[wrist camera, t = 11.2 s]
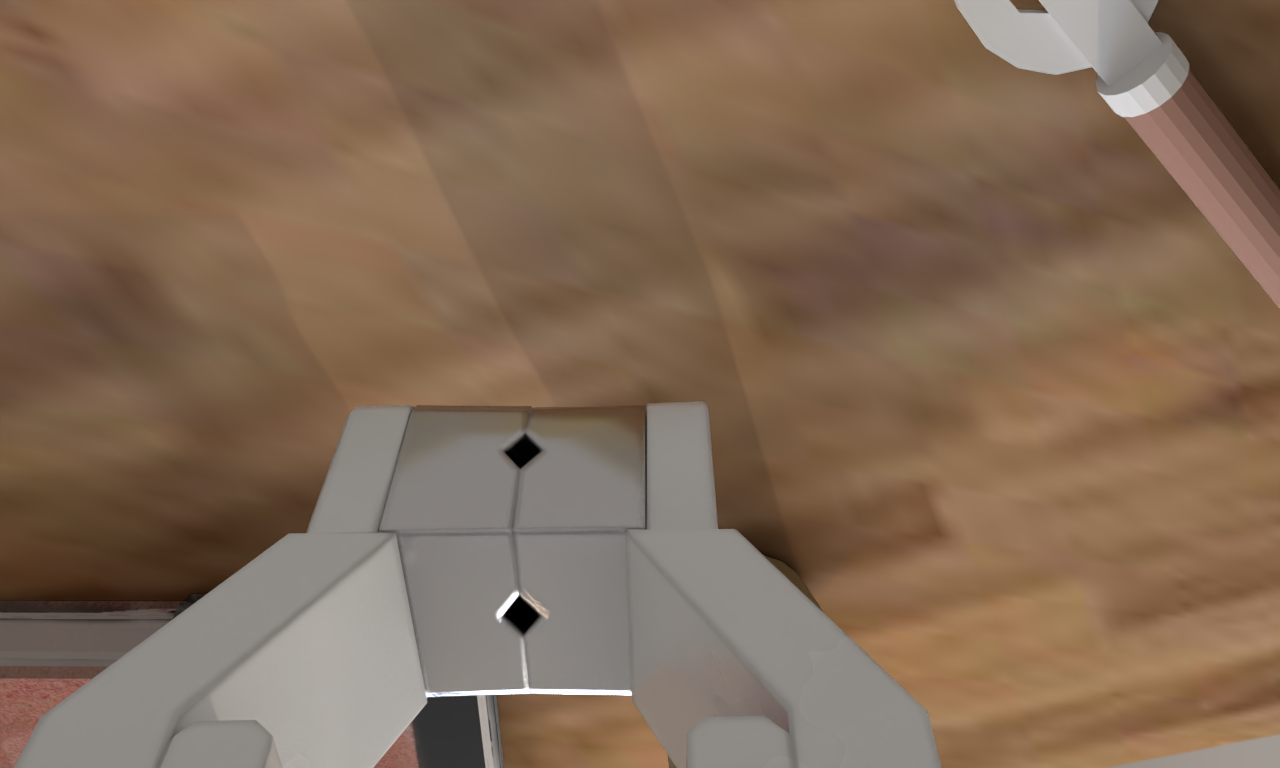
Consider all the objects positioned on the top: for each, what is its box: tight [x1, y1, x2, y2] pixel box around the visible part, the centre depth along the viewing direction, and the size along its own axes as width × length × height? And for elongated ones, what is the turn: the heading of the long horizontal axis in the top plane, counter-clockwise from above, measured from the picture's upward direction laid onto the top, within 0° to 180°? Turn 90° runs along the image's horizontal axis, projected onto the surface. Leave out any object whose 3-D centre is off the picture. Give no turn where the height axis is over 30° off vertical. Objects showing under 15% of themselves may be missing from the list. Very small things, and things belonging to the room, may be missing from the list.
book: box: [0, 594, 504, 768], centre depth 55 cm, size 26×18×5 cm
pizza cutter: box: [955, 0, 1280, 308], centre depth 37 cm, size 20×6×3 cm, turn 46°
